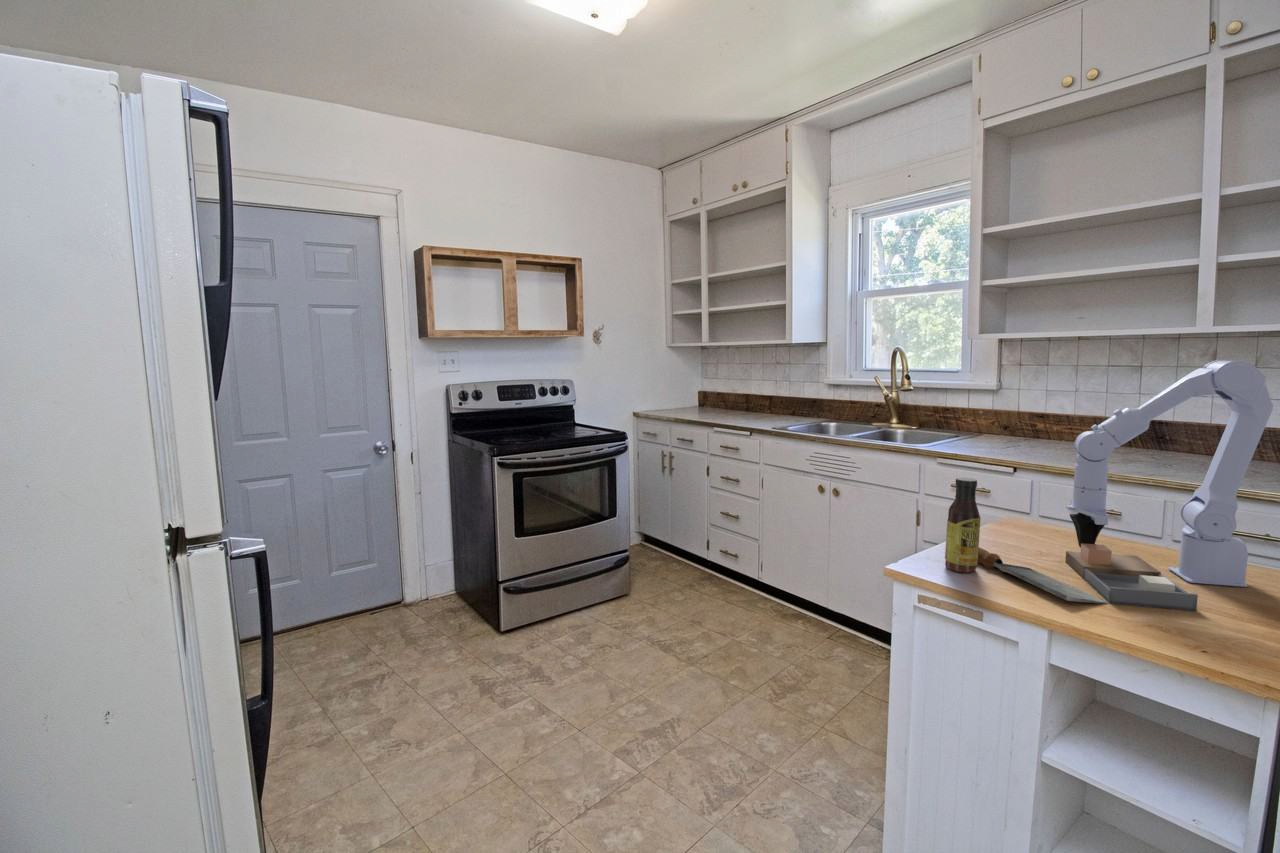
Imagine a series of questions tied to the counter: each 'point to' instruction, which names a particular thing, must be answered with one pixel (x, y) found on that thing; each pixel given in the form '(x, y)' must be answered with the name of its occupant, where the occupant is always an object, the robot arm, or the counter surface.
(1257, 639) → the counter surface
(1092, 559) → the peach matte cube
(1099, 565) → the walnut board
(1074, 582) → the counter surface
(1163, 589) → the pale grey cube
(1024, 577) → the meat cleaver
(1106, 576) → the charcoal tray
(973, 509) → the sauce bottle
